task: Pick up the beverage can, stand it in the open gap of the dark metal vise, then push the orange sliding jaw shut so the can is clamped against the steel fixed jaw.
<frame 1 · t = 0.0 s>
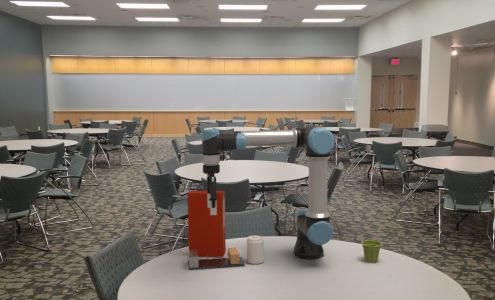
hand: (212, 211, 209), 28 cm above the table, tool pointing down, fingers open, 13 cm apart
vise: (215, 264, 221), on the table
sliding jaw: (233, 255, 222), point 4 cm above the table, slide at 0.0 cm
plant pot: (371, 261, 224), on the table
beverage can: (255, 262, 224), on the table
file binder: (207, 254, 235), on the table
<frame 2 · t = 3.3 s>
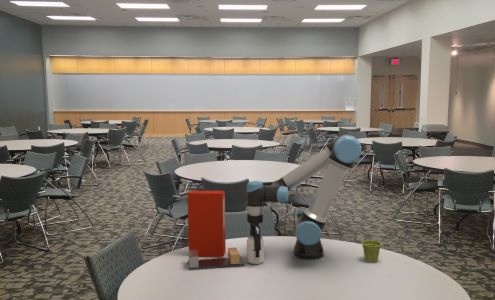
hand: (255, 260, 224), 1 cm above the table, tool pointing down, fingers closed on beverage can, 8 cm apart
beverage can: (255, 262, 224), on the table, touching gripper
everything else where it was.
when the fingers open (3 cm above the table, at t = 9.4 s): beverage can drops 1 cm, resting on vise.
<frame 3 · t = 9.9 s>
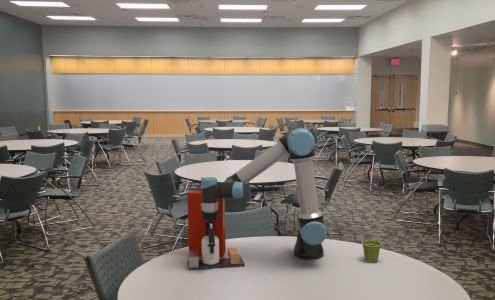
hand: (210, 254, 220), 5 cm above the table, tool pointing down, fingers open, 13 cm apart
beverage can: (210, 262, 220), point 1 cm above the table, touching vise
everything else where it was.
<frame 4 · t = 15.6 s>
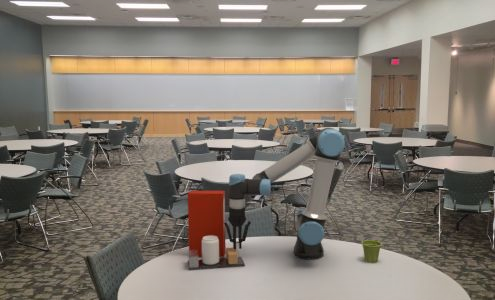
hand: (237, 255, 222), 4 cm above the table, tool pointing down, fingers closed
sliding jaw: (231, 255, 222), point 4 cm above the table, slide at 0.9 cm, touching gripper
everything else where it was.
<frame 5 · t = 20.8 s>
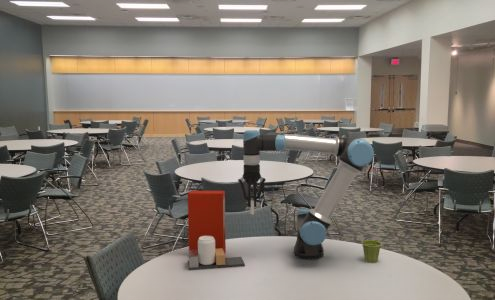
hand: (252, 213, 218), 24 cm above the table, tool pointing down, fingers closed
sliding jaw: (219, 256, 221), point 4 cm above the table, slide at 6.7 cm
beverage can: (206, 263, 220), point 1 cm above the table, touching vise
everything else where it was.
at the end: sliding jaw slide at 6.7 cm; beverage can 0.0 cm from the target spot on the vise, point 1.0 cm above the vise's base; beverage can tilted 0° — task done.
